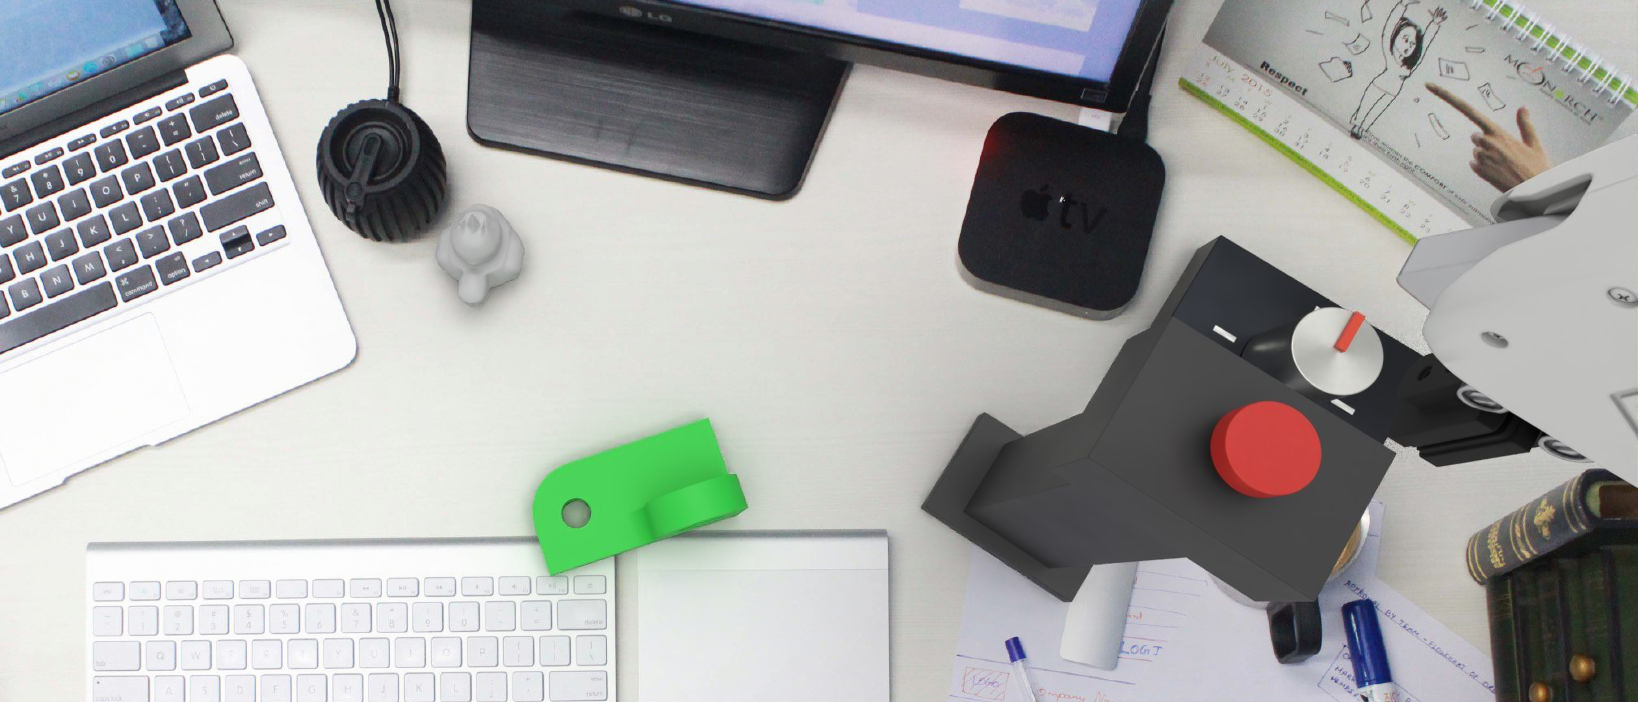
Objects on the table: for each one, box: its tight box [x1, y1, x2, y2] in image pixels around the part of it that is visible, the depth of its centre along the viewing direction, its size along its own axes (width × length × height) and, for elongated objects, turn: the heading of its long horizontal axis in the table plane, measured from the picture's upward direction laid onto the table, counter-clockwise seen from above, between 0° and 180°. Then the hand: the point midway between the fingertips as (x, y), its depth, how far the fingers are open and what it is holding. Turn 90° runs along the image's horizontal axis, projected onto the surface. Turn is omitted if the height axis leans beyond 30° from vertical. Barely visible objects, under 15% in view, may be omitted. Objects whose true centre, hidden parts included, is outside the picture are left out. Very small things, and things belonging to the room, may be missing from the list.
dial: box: [1241, 307, 1383, 404], centre depth 68 cm, size 5×5×6 cm
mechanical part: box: [531, 417, 749, 577], centre depth 69 cm, size 12×6×8 cm, turn 108°
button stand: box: [920, 316, 1398, 603], centre depth 60 cm, size 10×7×26 cm
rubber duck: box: [435, 203, 525, 308], centre depth 73 cm, size 5×7×8 cm
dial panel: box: [1149, 234, 1424, 445], centre depth 73 cm, size 14×11×3 cm
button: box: [1211, 401, 1321, 498], centre depth 46 cm, size 4×4×1 cm
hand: (1431, 410), depth 36 cm, fingers closed
